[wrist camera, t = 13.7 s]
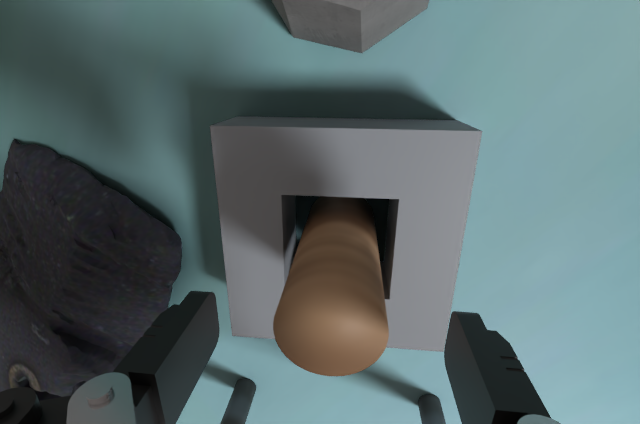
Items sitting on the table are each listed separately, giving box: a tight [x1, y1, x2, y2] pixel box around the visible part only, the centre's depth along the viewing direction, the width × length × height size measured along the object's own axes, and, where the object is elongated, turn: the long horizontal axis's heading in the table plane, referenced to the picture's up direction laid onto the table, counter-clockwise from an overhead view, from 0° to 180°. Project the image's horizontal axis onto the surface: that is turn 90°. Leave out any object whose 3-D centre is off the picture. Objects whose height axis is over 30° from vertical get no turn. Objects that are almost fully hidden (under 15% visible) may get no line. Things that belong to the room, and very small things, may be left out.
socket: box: [210, 116, 482, 352], centre depth 19 cm, size 12×12×4 cm
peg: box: [273, 196, 389, 376], centre depth 17 cm, size 4×4×10 cm
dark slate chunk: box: [0, 139, 182, 401], centre depth 24 cm, size 15×22×5 cm
